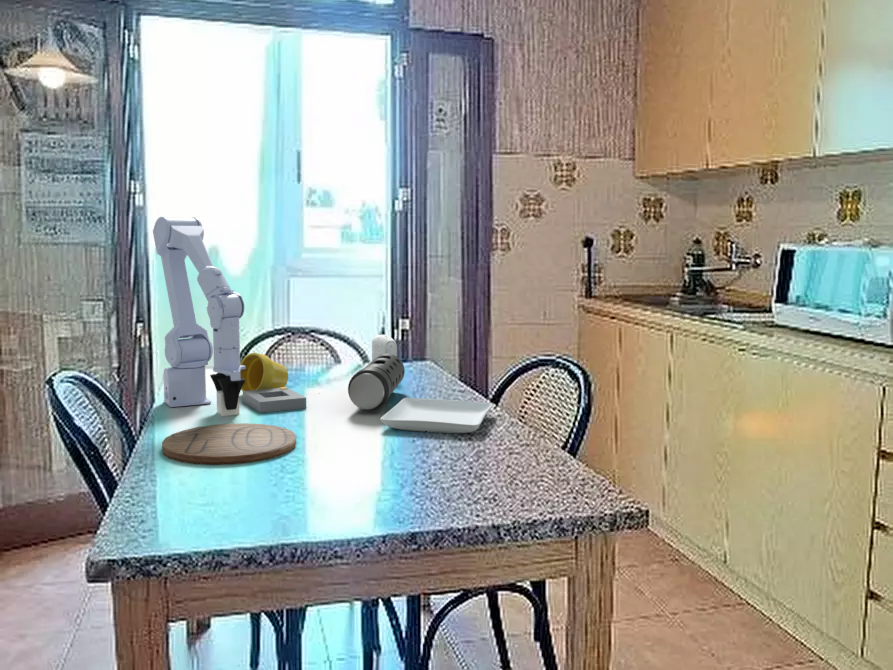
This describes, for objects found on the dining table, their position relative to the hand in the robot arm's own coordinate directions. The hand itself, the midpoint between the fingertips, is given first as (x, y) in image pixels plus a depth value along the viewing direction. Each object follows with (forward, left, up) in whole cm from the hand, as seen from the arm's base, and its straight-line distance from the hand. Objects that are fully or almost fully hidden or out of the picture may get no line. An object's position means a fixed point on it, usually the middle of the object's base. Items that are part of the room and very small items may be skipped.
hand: (228, 407), depth 187 cm
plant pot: (+19, +19, +2) cm, 27 cm away
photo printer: (+50, +23, -2) cm, 55 cm away
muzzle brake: (+35, -5, -2) cm, 35 cm away
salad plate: (+38, -30, -2) cm, 48 cm away
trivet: (-7, -28, -2) cm, 29 cm away
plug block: (0, 0, -2) cm, 2 cm away
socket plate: (+12, +4, -1) cm, 13 cm away
